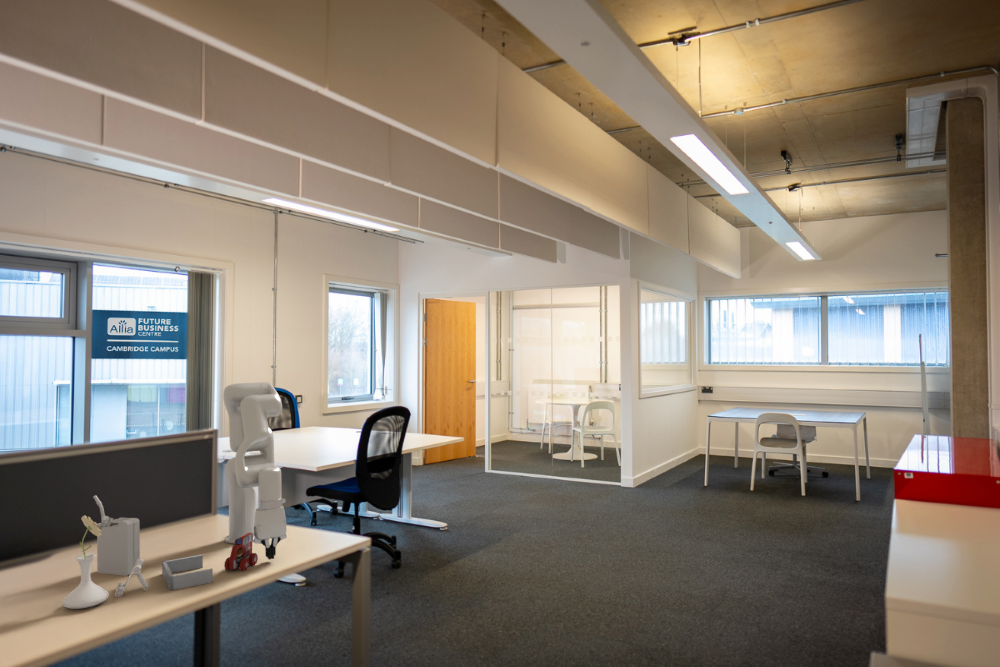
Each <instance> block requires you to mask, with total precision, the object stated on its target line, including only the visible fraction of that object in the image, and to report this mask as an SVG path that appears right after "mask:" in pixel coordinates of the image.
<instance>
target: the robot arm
mask: <svg viewBox="0 0 1000 667" xmlns="http://www.w3.org/2000/svg"><path fill="white" fill-rule="evenodd" d="M222 398H223V402H224V406H225V409H226V411H227V414H228V424H229V425H228V427H229V428H228V430H229V432H228V433H229V435H228V437H229V447H230V450H231V451H232V452H233V453H235V457H232V458H230V459H229V460H227V462H226V464H225V473H226V479H227V485H228V535H227V536H225V537H224V542H225V543H227V544H233V545H235V540H236V539H239V538H240V537H242V536H243V535H245V534H247V533H253V540H252V542H253V543H254V544H256V545H257V544H258V545H260V544H262V545H263V546H264V547H265V548H264V549H265V557H266V558H267V559H268V560H274V559H275V556H276V555H277V554H276V552H277V551H276V550H277V549H276V547H277V545H278V544H279V542H281V541H283V540H285V539H287V538H288V537H287V519H286V512H285V506H284V505H283V504H284V503H286V501H287V499H286V498H283V497H282V496H283V495H282V470H281V468H280V467H278V465H277V464H275V445H274V444H275V443H274V442H275V440H274V438H275V437H274V434H273V430H272V429H271V428H270V427H269V422H268V418H273V417H279V416H280V415H281V413H282V411H283V402H282V398H281V397H280V395H279V393H278V392H277V390H276V389H275V387H274V386H273V385H272V383H270V382H264V381H263V382H260V381H259V382H241V383H232V384H228V385H227V386H226V387H225V388H224V390H223V397H222ZM253 452H259V453H260V454H259V453H258V454H252V455H251V454H249V455H246V453H253ZM256 487H258V488H257V489H258V490H257V492H258V495H257V496H258V499H257V498H256V490H255V488H256ZM257 500H258V502H257V503H258V508H257V507H256V506H257V505H256V504H257V503H256V501H257ZM270 539H271V542H270Z"/></svg>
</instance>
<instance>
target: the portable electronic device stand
mask: <svg viewBox="0 0 1000 667" xmlns="http://www.w3.org/2000/svg"><path fill="white" fill-rule="evenodd" d="M144 562H145V560H144V559H143V558H141V557H140V558H139V559H137V561H136V562H135V565H134V567H133V569H132V571H131V573H130V575H128V578H127V580H126V582H125V583H122V581H121V580H119V582H118V585H117V587H116V589H115V593H114V595H115V597H116V598H120V597H122V596H123V594H124V593H125V590H126V588H127V585H128V584H129V581H130V579H131V577H132V575H133V574H135V575H136V577H137V579H138V581H139V583H140V584H141V588H142V589H143V591H145V592H147V588H148V584H147V583H146V581H145V578H144V577H143V575H142V573H141V572H142V569H143V565H144Z"/></svg>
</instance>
